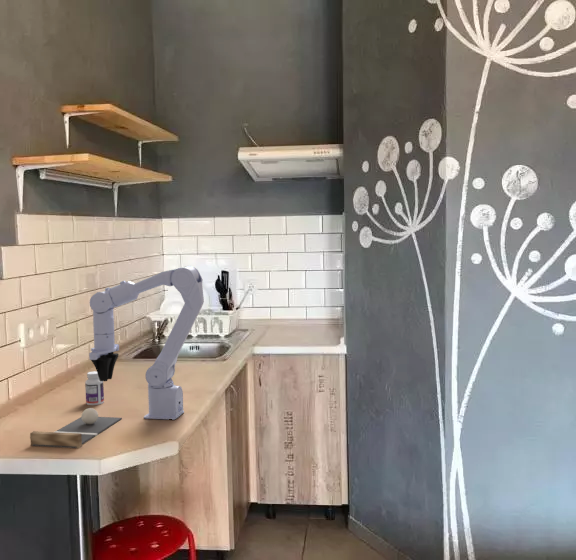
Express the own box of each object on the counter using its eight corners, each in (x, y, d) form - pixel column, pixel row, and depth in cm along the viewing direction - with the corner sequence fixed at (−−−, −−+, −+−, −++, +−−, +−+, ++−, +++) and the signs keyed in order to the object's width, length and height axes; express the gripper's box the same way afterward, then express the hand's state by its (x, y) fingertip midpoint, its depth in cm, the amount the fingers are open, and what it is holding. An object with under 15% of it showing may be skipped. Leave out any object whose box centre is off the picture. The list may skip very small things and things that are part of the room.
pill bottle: (97, 400, 204) (96, 370, 204) (107, 402, 201) (106, 372, 200) (82, 403, 200) (81, 373, 199) (92, 406, 197) (91, 375, 196)
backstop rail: (81, 446, 160) (81, 433, 159) (78, 448, 158) (78, 435, 158) (34, 443, 162) (33, 431, 162) (30, 445, 161) (30, 433, 160)
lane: (121, 419, 183) (121, 417, 183) (76, 448, 158) (76, 446, 158) (82, 417, 185) (82, 416, 185) (32, 445, 161) (32, 444, 161)
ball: (101, 422, 179) (100, 406, 178) (93, 426, 174) (93, 410, 174) (86, 421, 180) (86, 405, 179) (78, 426, 175) (78, 410, 175)
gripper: (103, 329, 193) (104, 374, 194) (78, 337, 179) (80, 385, 180) (125, 329, 192) (126, 374, 193) (102, 337, 177) (103, 386, 178)
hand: (105, 379), depth 186 cm, fingers closed
